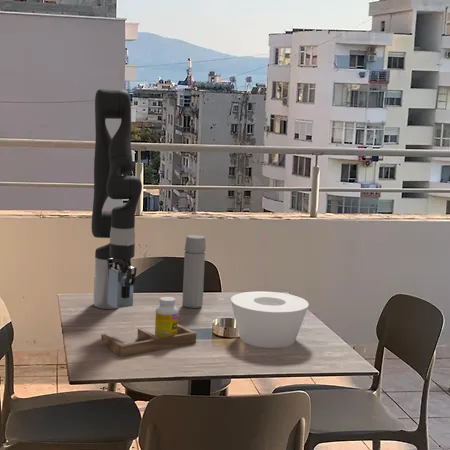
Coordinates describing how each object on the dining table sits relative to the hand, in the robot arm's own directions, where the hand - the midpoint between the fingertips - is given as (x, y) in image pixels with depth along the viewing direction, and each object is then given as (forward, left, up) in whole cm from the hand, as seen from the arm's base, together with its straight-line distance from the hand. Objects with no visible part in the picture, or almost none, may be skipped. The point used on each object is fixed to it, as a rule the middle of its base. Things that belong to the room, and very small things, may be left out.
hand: (120, 295), depth 222 cm
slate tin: (0, 0, -3) cm, 3 cm away
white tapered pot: (+27, +37, -12) cm, 47 cm away
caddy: (+14, +2, -12) cm, 18 cm away
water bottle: (-15, +38, -12) cm, 42 cm away
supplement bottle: (+13, +8, -12) cm, 20 cm away
